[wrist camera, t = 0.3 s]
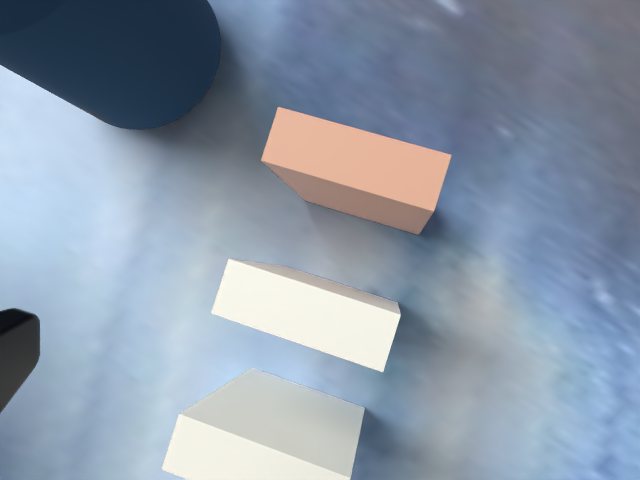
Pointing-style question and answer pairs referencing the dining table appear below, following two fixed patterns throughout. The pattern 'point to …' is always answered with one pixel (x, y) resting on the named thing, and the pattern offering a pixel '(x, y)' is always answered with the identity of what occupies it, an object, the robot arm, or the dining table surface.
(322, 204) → the domino
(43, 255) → the dining table surface
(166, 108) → the soda can
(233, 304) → the domino
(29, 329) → the robot arm
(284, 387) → the domino
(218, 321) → the dining table surface
